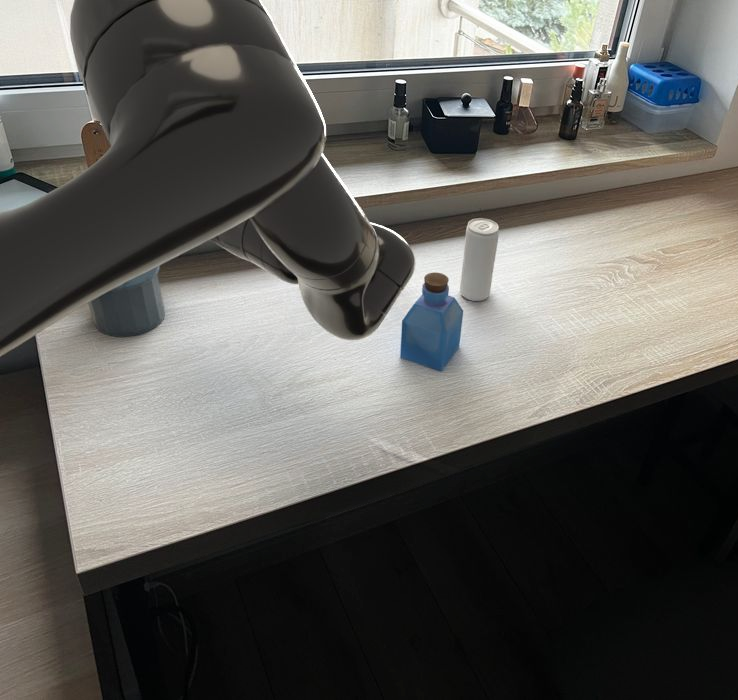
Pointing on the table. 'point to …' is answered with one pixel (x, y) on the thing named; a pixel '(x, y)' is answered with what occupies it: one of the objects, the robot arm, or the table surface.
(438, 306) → the perfume bottle
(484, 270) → the beverage can
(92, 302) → the pot
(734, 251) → the table surface
